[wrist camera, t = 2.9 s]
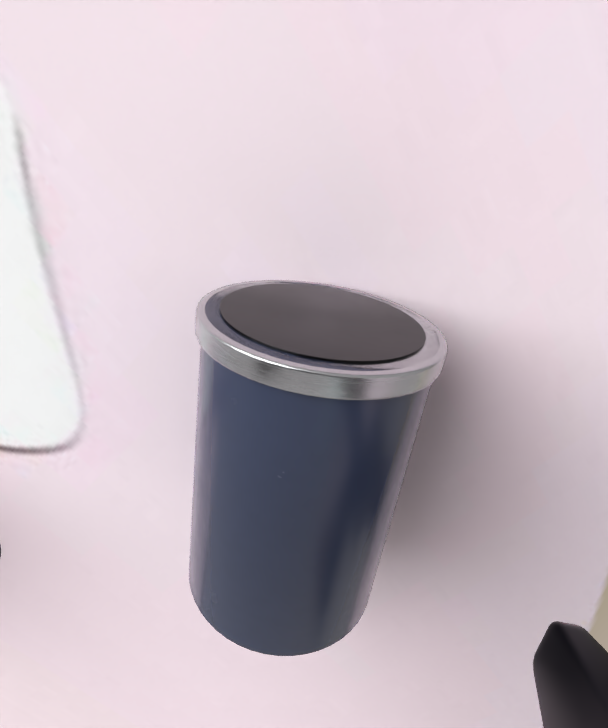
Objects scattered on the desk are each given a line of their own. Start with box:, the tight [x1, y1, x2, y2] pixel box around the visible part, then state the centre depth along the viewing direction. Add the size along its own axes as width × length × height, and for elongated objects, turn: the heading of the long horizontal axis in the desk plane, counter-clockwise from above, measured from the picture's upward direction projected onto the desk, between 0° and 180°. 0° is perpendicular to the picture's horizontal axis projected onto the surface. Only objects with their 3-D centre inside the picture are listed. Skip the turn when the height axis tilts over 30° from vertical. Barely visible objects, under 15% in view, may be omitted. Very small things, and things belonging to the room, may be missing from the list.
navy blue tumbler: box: [189, 280, 447, 656], centre depth 14 cm, size 6×6×9 cm
